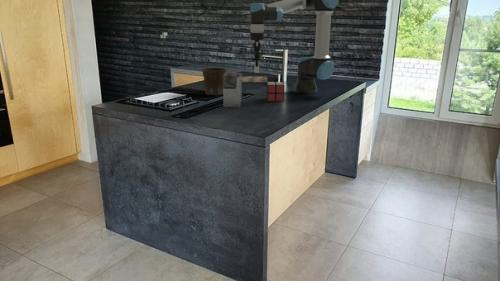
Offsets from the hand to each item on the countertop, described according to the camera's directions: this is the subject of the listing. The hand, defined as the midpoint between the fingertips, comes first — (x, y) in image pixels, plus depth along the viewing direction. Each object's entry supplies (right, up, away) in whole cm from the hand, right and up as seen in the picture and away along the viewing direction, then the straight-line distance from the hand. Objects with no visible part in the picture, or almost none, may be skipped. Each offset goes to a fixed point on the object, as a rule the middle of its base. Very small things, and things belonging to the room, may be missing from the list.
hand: (256, 71), depth 224 cm
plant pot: (-27, -9, +32) cm, 43 cm away
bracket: (-14, -18, +6) cm, 23 cm away
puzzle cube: (+12, -15, +16) cm, 25 cm away
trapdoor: (-6, -7, +2) cm, 10 cm away
